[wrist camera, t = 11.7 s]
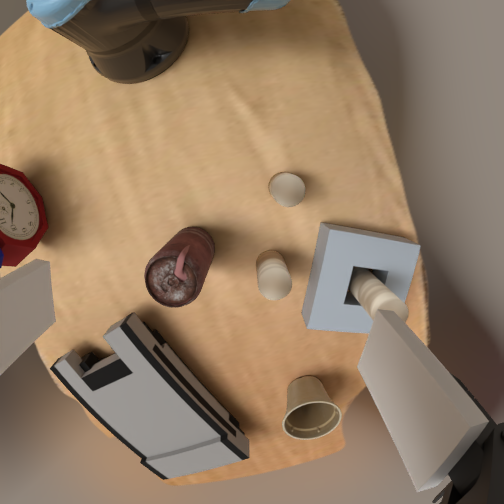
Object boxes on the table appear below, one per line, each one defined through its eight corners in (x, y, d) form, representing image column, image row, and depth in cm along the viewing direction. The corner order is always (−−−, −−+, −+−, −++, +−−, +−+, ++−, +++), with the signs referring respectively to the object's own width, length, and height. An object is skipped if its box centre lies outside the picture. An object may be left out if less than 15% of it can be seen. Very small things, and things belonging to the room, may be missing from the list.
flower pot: (276, 407, 51) (280, 441, 43) (279, 369, 49) (284, 403, 40) (326, 404, 51) (336, 436, 43) (333, 366, 49) (346, 398, 40)
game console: (141, 301, 45) (123, 326, 37) (248, 426, 53) (249, 457, 45) (67, 348, 48) (46, 372, 40) (169, 452, 55) (163, 479, 47)
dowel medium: (258, 248, 43) (261, 266, 35) (286, 252, 43) (295, 270, 35) (254, 275, 44) (255, 297, 36) (281, 278, 44) (288, 301, 36)
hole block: (320, 222, 42) (329, 229, 37) (404, 237, 43) (420, 245, 38) (301, 312, 46) (307, 328, 41) (381, 319, 46) (393, 334, 42)
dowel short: (276, 167, 40) (280, 168, 35) (302, 179, 40) (310, 182, 36) (263, 194, 41) (266, 198, 36) (290, 206, 42) (296, 212, 37)
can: (220, 230, 42) (208, 260, 29) (209, 272, 44) (193, 317, 30) (178, 219, 42) (147, 243, 28) (169, 261, 43) (137, 301, 30)
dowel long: (345, 261, 44) (383, 299, 30) (369, 264, 44) (412, 302, 30) (339, 286, 45) (372, 332, 31) (362, 289, 45) (401, 333, 31)
